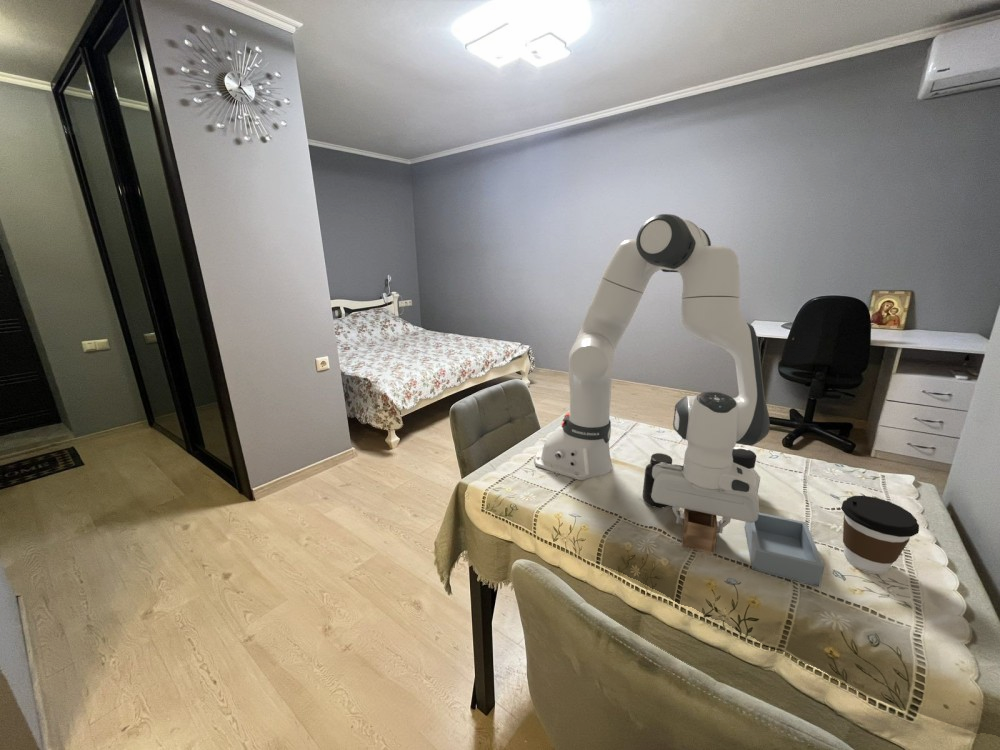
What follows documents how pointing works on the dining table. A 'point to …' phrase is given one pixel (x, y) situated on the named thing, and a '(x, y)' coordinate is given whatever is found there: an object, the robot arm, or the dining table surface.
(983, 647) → the dining table surface
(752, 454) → the medicine bottle
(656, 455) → the supplement bottle
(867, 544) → the coffee cup
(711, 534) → the walnut crate
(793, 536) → the grey crate
